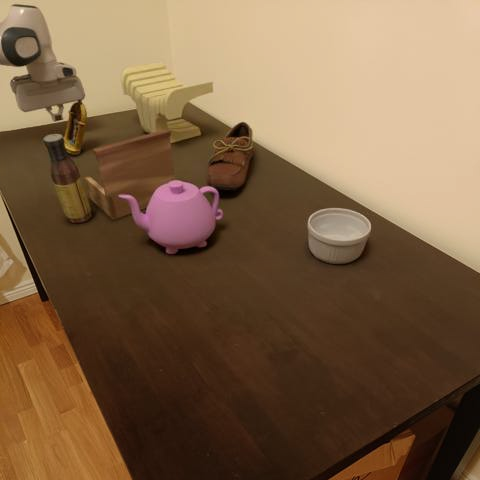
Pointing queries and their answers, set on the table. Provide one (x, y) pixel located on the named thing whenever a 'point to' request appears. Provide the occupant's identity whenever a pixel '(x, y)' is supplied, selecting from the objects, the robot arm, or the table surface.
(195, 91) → the slatted curved stool
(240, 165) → the moccasin
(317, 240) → the ramekin
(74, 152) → the shrine
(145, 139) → the wooden holder
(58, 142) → the sauce bottle
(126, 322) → the table surface
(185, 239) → the teapot
